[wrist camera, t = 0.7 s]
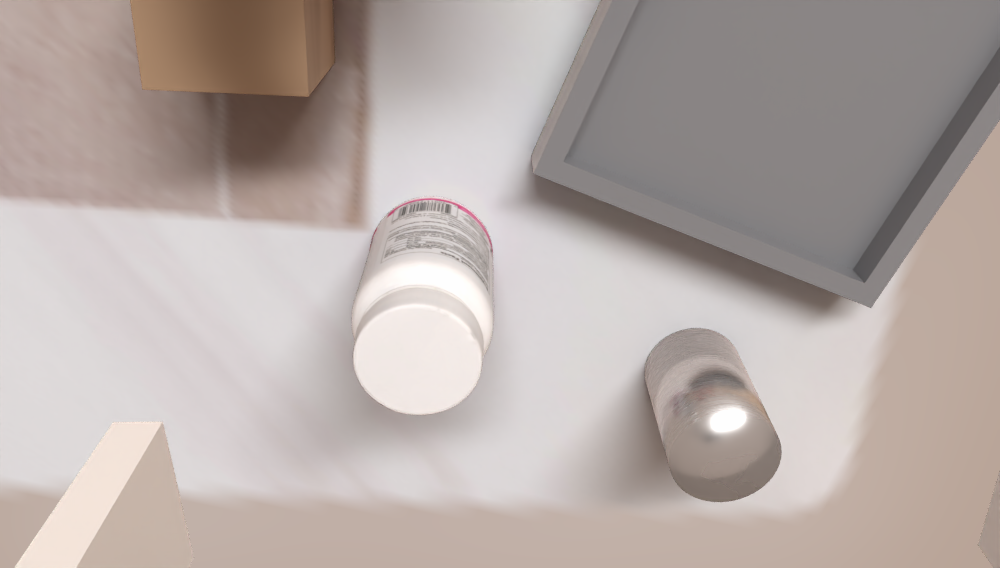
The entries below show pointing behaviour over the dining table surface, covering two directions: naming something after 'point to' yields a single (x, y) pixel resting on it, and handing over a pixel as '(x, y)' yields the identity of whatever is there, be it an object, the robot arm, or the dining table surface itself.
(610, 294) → the dining table surface
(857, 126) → the tray
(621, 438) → the dining table surface
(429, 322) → the pill bottle
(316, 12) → the walnut block
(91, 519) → the robot arm
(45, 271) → the dining table surface
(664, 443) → the cylinder
